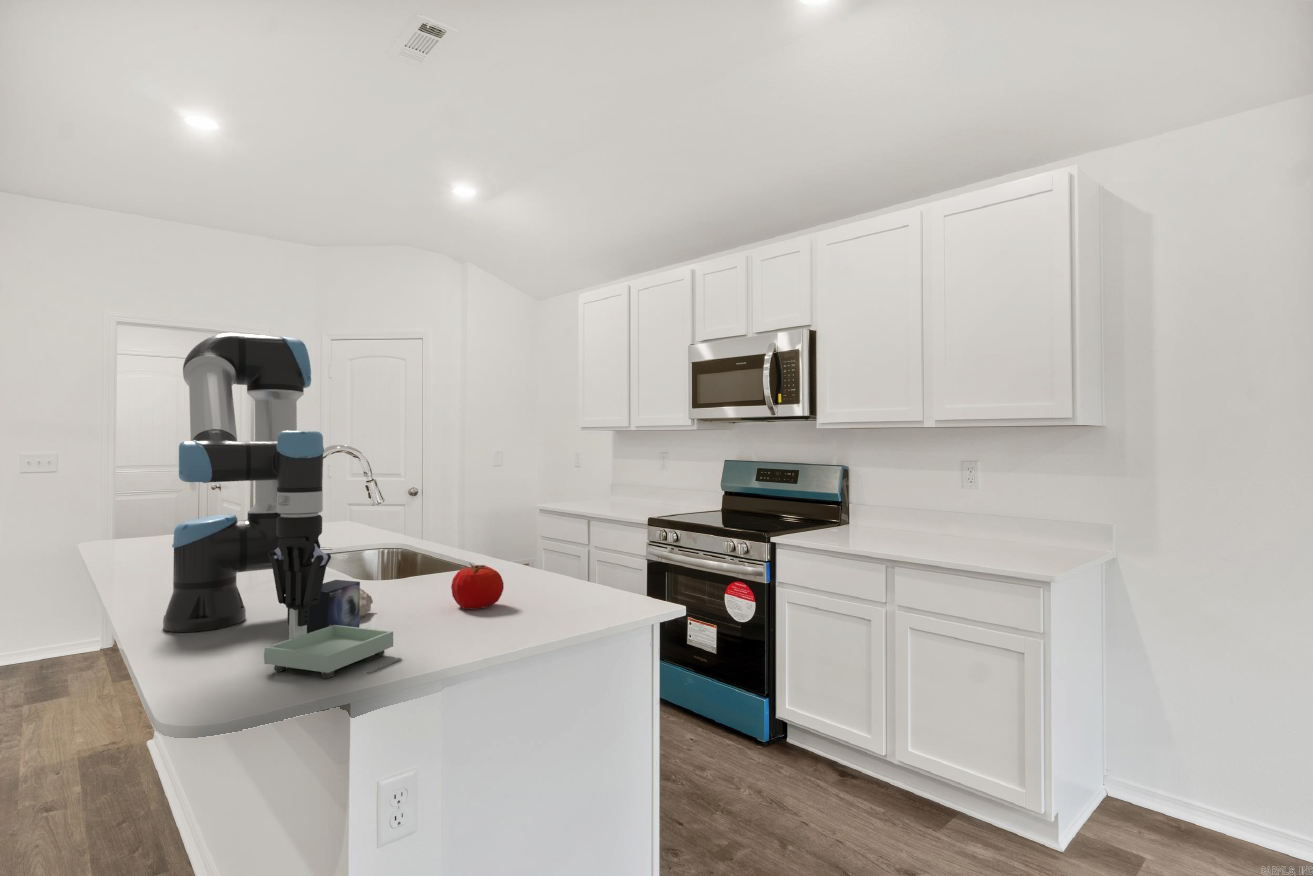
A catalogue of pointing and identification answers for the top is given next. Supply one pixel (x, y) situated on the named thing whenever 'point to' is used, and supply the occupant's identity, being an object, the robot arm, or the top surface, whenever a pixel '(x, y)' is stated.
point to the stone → (364, 603)
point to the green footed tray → (328, 649)
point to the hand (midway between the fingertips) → (298, 643)
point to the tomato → (477, 587)
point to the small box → (336, 606)
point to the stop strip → (384, 665)
